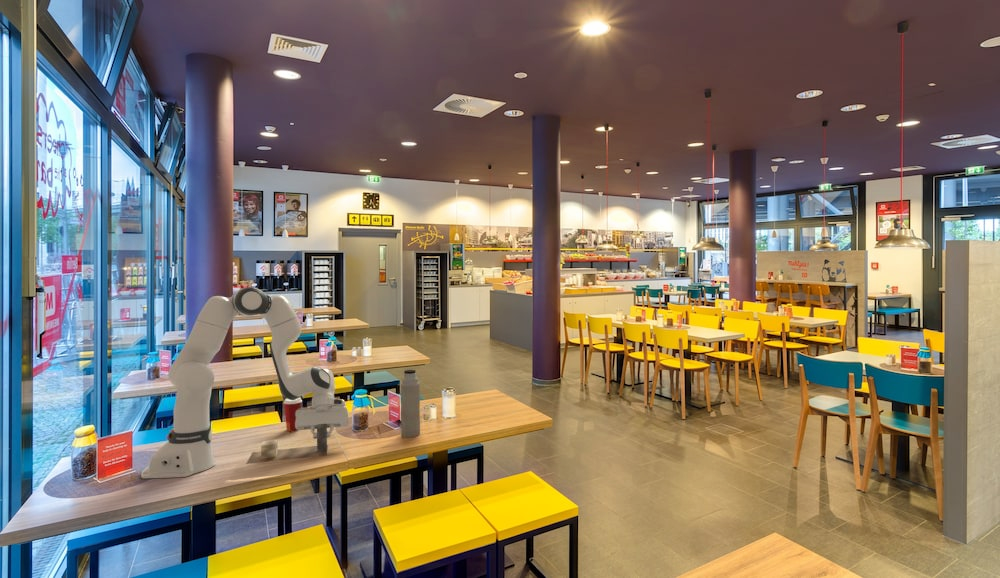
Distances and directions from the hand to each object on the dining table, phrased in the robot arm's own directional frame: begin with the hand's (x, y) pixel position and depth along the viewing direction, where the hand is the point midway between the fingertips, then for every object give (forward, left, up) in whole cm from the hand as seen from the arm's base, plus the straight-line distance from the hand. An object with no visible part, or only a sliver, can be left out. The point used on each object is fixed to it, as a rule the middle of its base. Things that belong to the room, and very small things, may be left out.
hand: (321, 437), depth 195 cm
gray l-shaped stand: (-12, +1, -6) cm, 14 cm away
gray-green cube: (-19, +1, -5) cm, 20 cm away
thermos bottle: (+36, +13, -6) cm, 38 cm away
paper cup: (-14, +35, -6) cm, 38 cm away
